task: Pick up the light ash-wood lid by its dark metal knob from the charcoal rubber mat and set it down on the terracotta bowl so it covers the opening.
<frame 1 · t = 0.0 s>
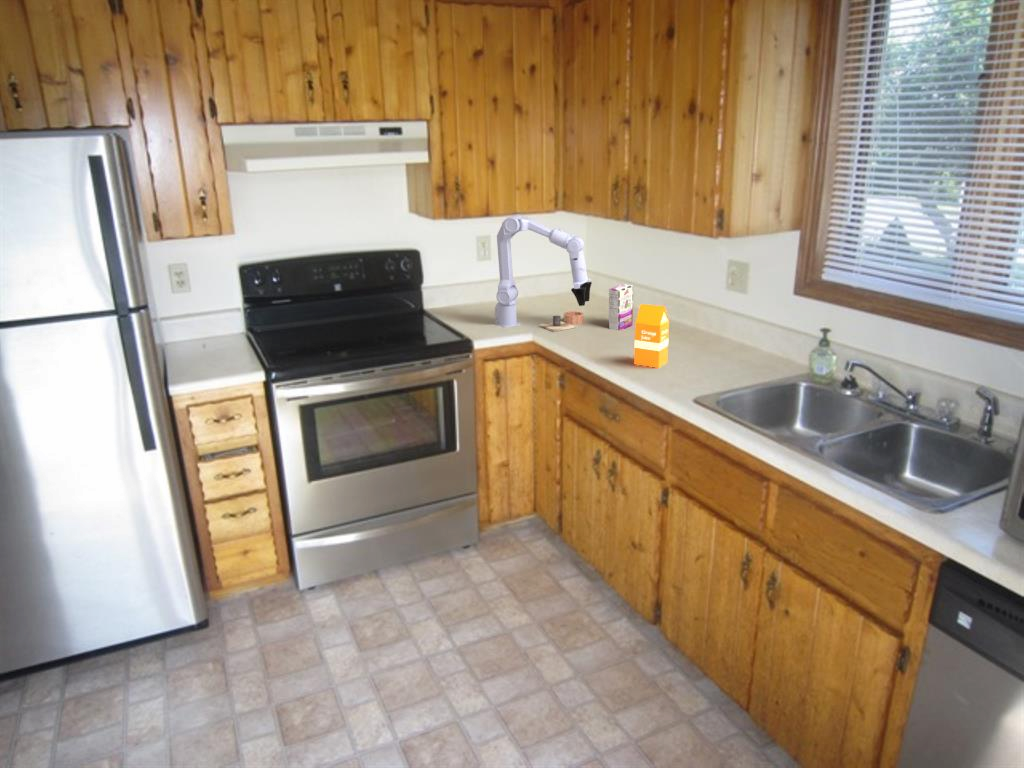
hand: (584, 303, 288), 11 cm above the worktop, tool pointing down, fingers open, 7 cm apart
candy bar box: (620, 328, 294), on the worktop
lid: (556, 327, 295), resting on mat
orange juice: (650, 364, 248), on the worktop
bowl: (573, 323, 302), on the worktop
mat: (556, 328, 295), on the worktop
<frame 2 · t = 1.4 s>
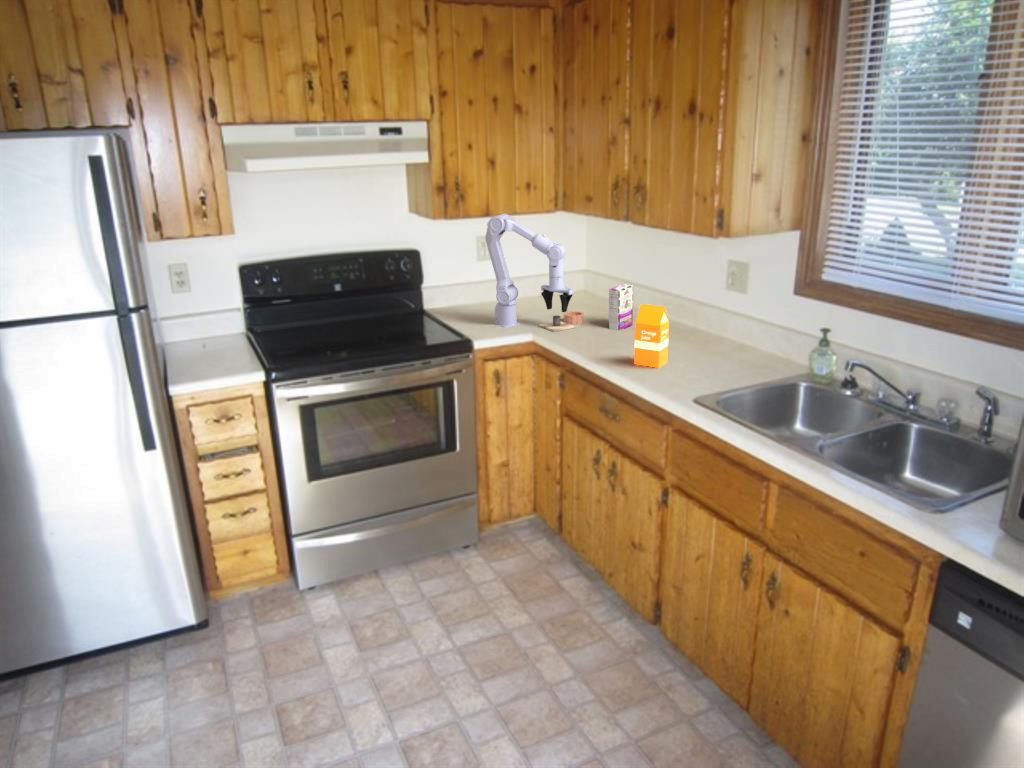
hand: (556, 310, 292), 7 cm above the worktop, tool pointing down, fingers open, 7 cm apart
nothing on the worktop moved.
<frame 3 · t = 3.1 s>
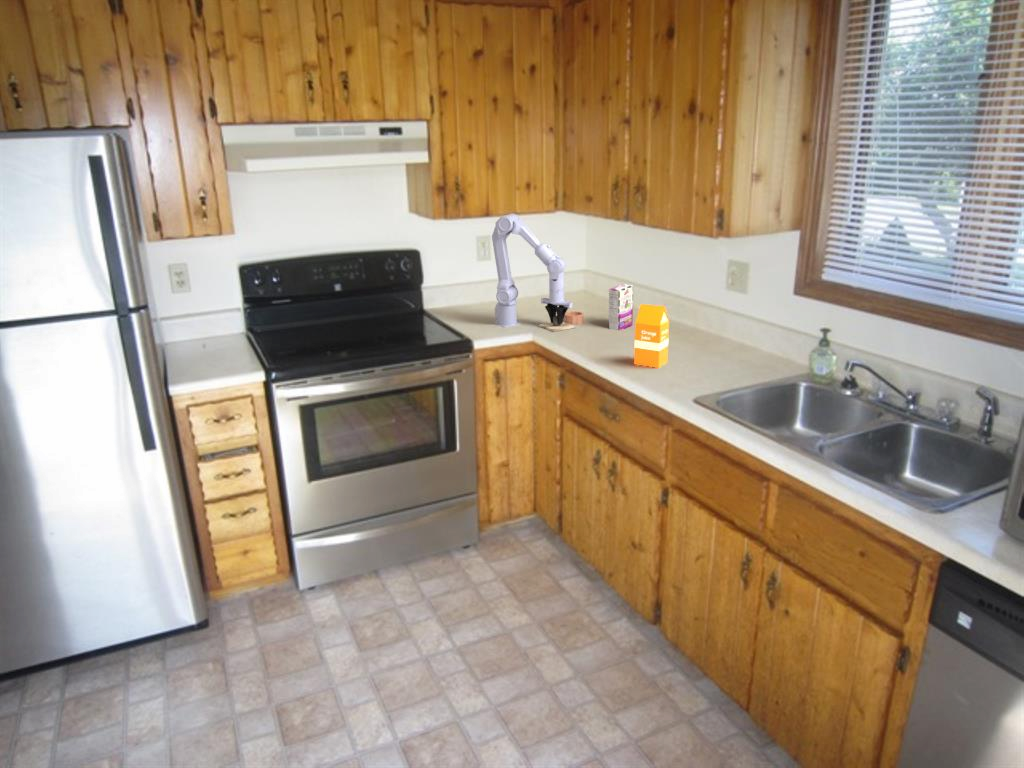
hand: (556, 323, 294), 2 cm above the worktop, tool pointing down, fingers closed on lid, 3 cm apart
lid: (556, 327, 295), resting on mat, touching gripper
everything else where it was.
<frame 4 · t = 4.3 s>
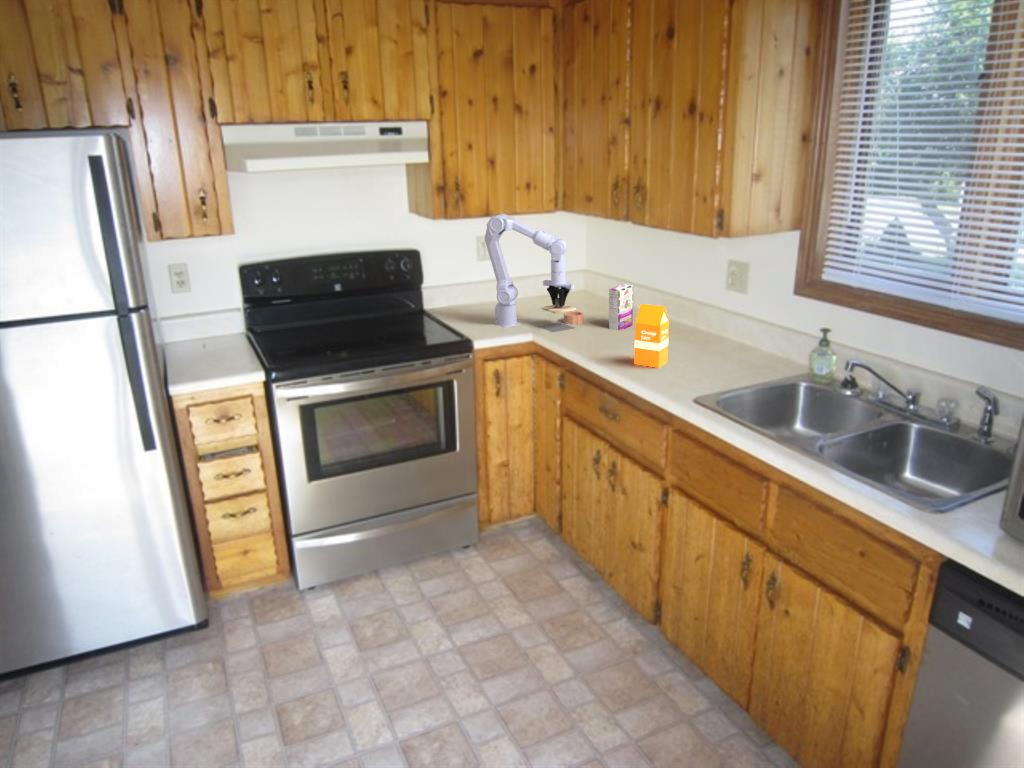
hand: (558, 305, 293), 9 cm above the worktop, tool pointing down, fingers closed on lid, 3 cm apart
lid: (558, 309, 293), point 7 cm above the worktop, touching gripper
everything else where it was.
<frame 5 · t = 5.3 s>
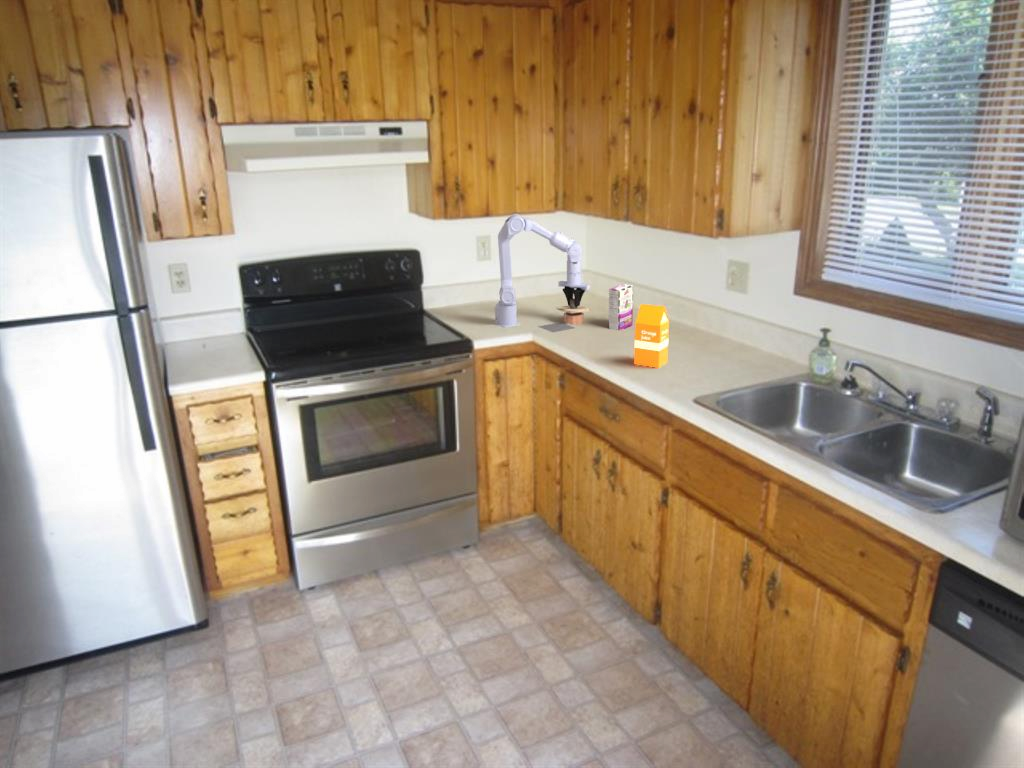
hand: (573, 305, 300), 7 cm above the worktop, tool pointing down, fingers closed on lid, 3 cm apart
lid: (573, 309, 300), point 5 cm above the worktop, touching gripper
everything else where it was.
when the fingers open (7 cm above the worktop, at t = 5.9 s): lid drops 2 cm, resting on bowl.
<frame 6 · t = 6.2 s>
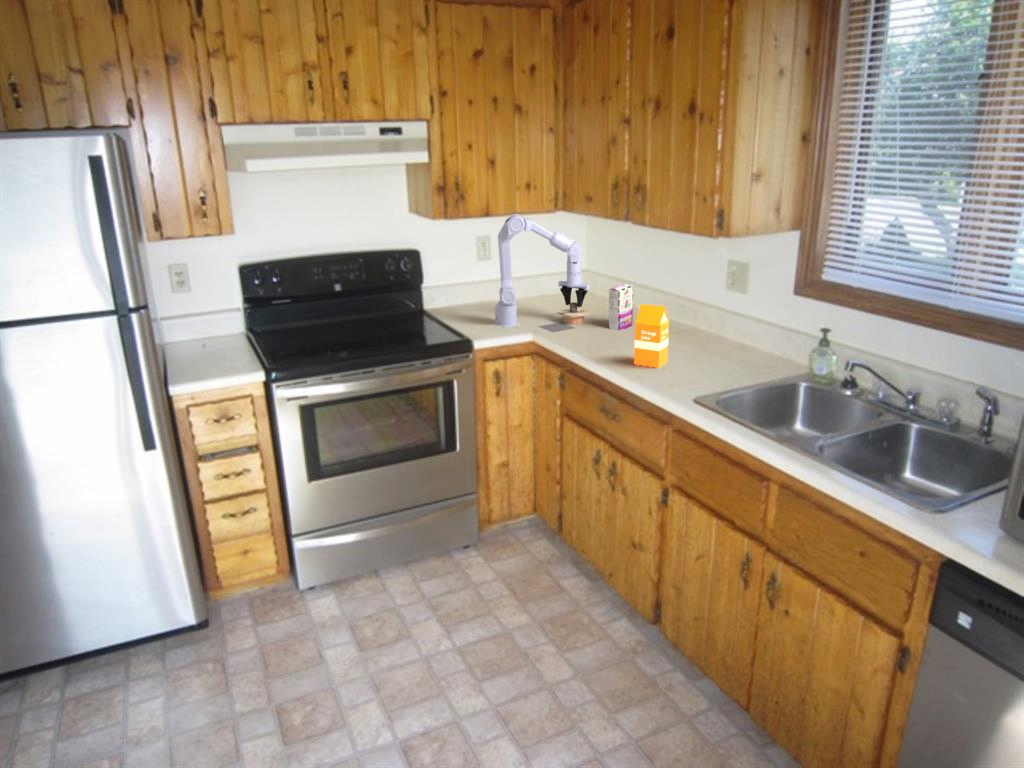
hand: (573, 305, 300), 7 cm above the worktop, tool pointing down, fingers open, 5 cm apart
lid: (573, 313, 301), point 4 cm above the worktop, touching bowl
bowl: (573, 323, 302), on the worktop, touching lid
everything else where it was.
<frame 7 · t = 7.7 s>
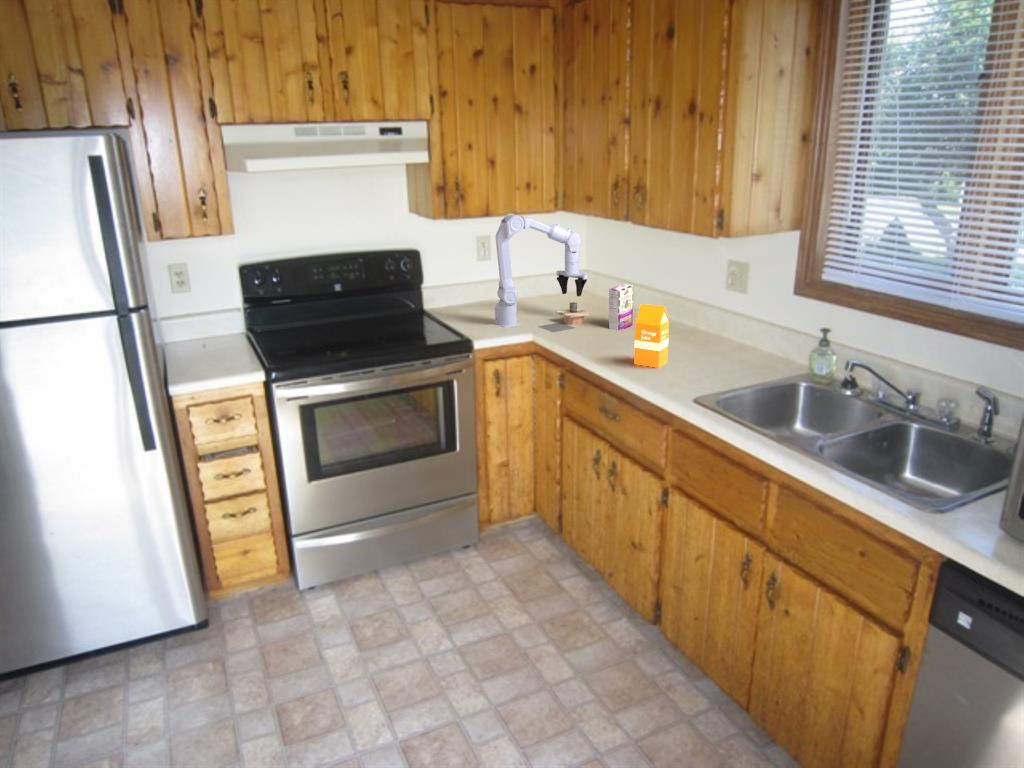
hand: (571, 294, 304), 10 cm above the worktop, tool pointing down, fingers open, 7 cm apart
lid: (573, 313, 301), point 4 cm above the worktop
bowl: (573, 323, 302), on the worktop
everything else where it was.
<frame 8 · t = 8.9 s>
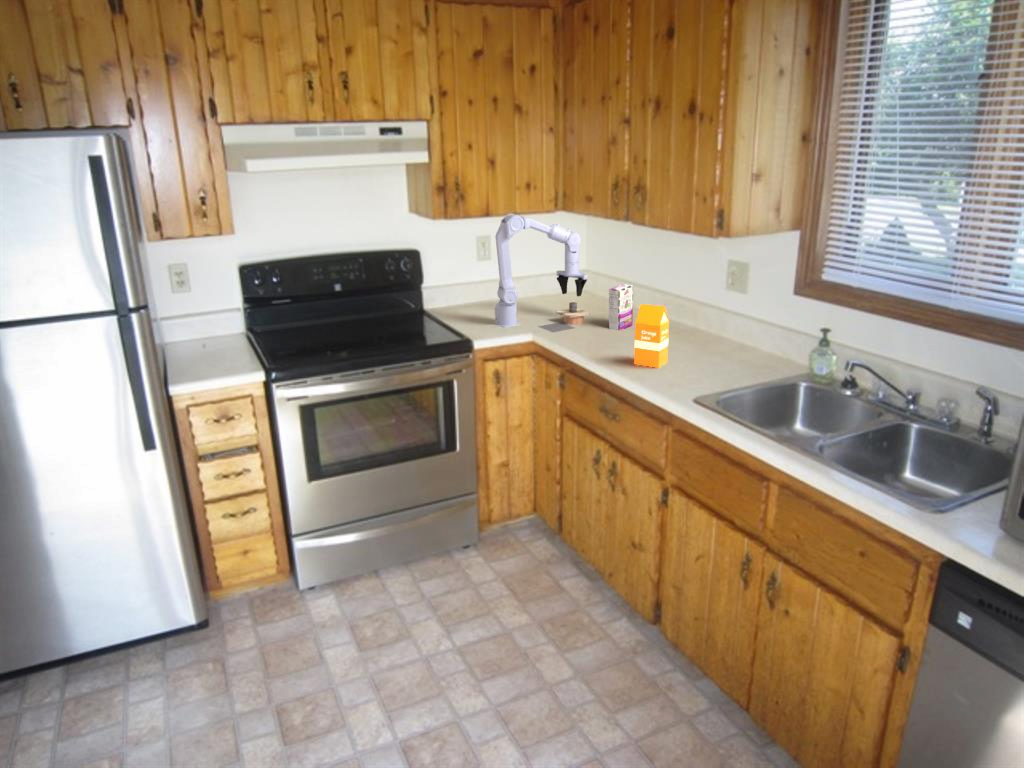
hand: (571, 294, 304), 10 cm above the worktop, tool pointing down, fingers open, 7 cm apart
lid: (573, 313, 301), point 4 cm above the worktop, touching bowl
bowl: (573, 323, 302), on the worktop, touching lid
everything else where it was.
at the end: lid 0.3 cm off-centre on the bowl, point 4.0 cm above the bowl's base; lid tilted 0°; the gripper is holding nothing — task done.
